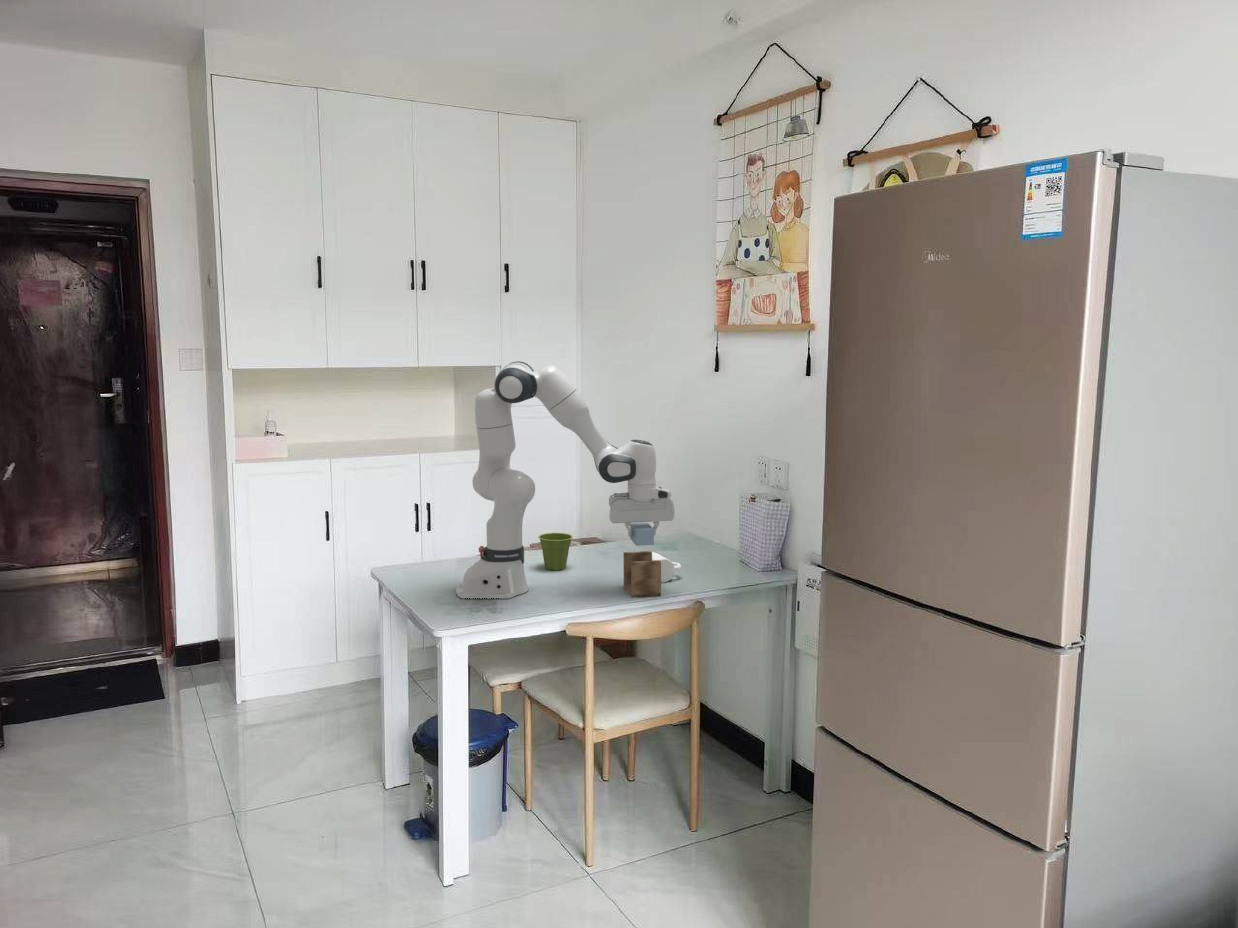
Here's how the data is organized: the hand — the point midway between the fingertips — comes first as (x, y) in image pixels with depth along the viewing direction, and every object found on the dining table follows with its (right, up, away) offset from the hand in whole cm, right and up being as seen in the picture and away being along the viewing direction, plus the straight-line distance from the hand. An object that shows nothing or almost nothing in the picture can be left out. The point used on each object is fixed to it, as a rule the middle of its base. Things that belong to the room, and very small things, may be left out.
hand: (641, 535), depth 282 cm
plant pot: (-29, -14, +30) cm, 44 cm away
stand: (0, -18, +3) cm, 18 cm away
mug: (+7, -16, +17) cm, 24 cm away
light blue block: (0, -2, 0) cm, 2 cm away
